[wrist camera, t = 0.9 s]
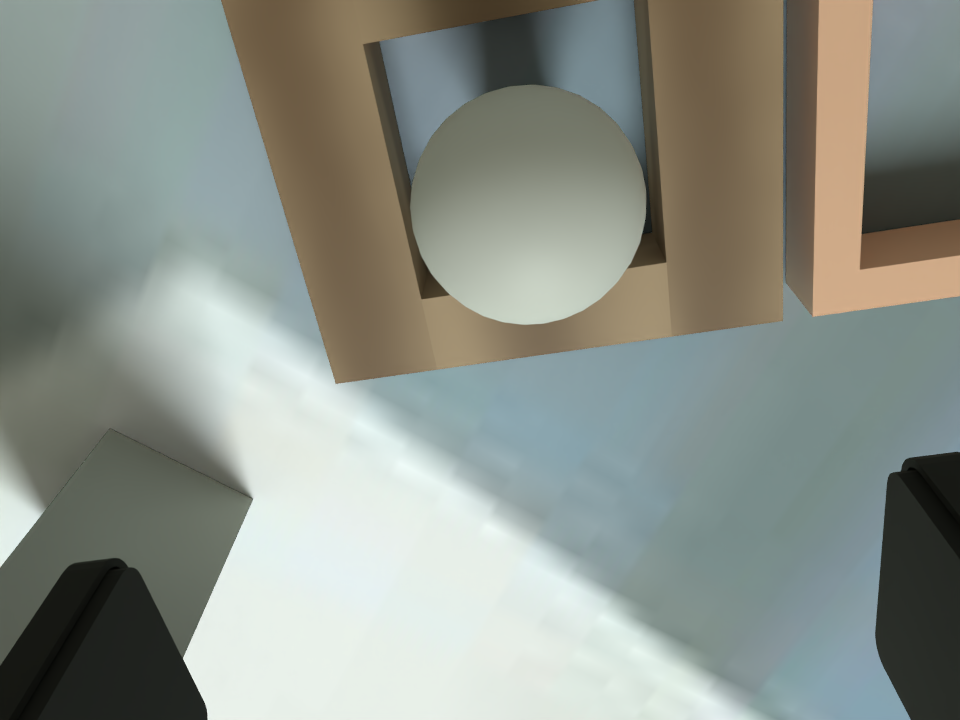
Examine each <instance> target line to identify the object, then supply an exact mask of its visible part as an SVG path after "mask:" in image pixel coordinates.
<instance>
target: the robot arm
mask: <svg viewBox="0 0 960 720" xmlns="http://www.w3.org/2000/svg"><path fill="white" fill-rule="evenodd" d="M875 638H876V645H877V649H878V654H879V657H880V659H881V662H882V664H883V667H884V669H885V671H886V672H887V674H888V676H889V678H890V680H891V682H892V684H893V686H894V688H895V690H896V692H897V694H898V696H899V698H900V699H901V701H902V703H903V705H904V707H905V709H906V711H907V713H908V715H909V717H910V719H911V720H960V453H959V452H952V453H944V454H936V455H928V456H920V457H912V458H908V459H906V460H905V461H904V463H903V464H902V469H901V472H893V473H891V474H890V475H889V477H888V481H887V491H886V504H885V516H884V529H883V542H882V554H881V567H880V580H879V593H878V605H877V618H876V631H875ZM0 720H207V709H206V706H205V703H204V701H203V699H202V697H201V695H200V693H199V691H198V689H197V687H196V685H195V683H194V681H193V679H192V677H191V675H190V673H189V671H188V669H187V666H186V664H185V662H184V660H183V658H182V656H181V654H180V652H179V650H178V648H177V646H176V644H175V642H174V640H173V638H172V636H171V634H170V632H169V630H168V628H167V626H166V624H165V622H164V620H163V618H162V616H161V614H160V612H159V610H158V608H157V606H156V604H155V602H154V600H153V598H152V596H151V594H150V592H149V590H148V588H147V586H146V584H145V582H144V580H143V578H142V576H141V574H140V573H139V571H138V570H137V569H135V568H132V567H128V566H127V564H126V563H125V562H124V561H123V560H121V559H120V558H109V559H101V560H93V561H85V562H77V563H73V564H71V565H69V566H68V567H67V568H66V569H65V570H64V572H63V573H62V574H61V576H60V577H59V579H58V580H57V582H56V583H55V585H54V586H53V588H52V589H51V591H50V592H49V594H48V595H47V597H46V598H45V600H44V601H43V603H42V604H41V606H40V607H39V609H38V610H37V612H36V613H35V615H34V616H33V618H32V619H31V621H30V622H29V624H28V625H27V627H26V628H25V629H24V631H23V632H22V634H21V635H20V637H19V638H18V640H17V641H16V643H15V644H14V646H13V647H12V649H11V650H10V652H9V653H8V655H7V656H6V658H5V659H4V661H3V662H2V664H1V665H0Z"/></svg>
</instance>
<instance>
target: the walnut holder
mask: <svg viewBox="0 0 960 720" xmlns="http://www.w3.org/2000/svg"><path fill="white" fill-rule="evenodd" d="M591 1H597V0H221V2H222V5H223V8H224V12H225V15H226V18H227V22H228V25H229V28H230V32H231V35H232V38H233V42H234V45H235V48H236V52H237V55H238V58H239V62H240V65H241V69H242V72H243V75H244V79H245V82H246V85H247V89H248V92H249V95H250V99H251V102H252V105H253V109H254V112H255V115H256V119H257V122H258V125H259V129H260V132H261V135H262V139H263V142H264V145H265V149H266V152H267V155H268V159H269V162H270V165H271V169H272V172H273V175H274V179H275V182H276V185H277V189H278V192H279V195H280V199H281V202H282V205H283V209H284V212H285V215H286V219H287V222H288V226H289V229H290V232H291V236H292V239H293V242H294V246H295V249H296V252H297V256H298V259H299V262H300V266H301V269H302V272H303V276H304V279H305V282H306V286H307V289H308V292H309V296H310V299H311V302H312V306H313V309H314V312H315V316H316V319H317V322H318V326H319V329H320V332H321V336H322V339H323V342H324V346H325V349H326V352H327V356H328V359H329V362H330V366H331V369H332V372H333V376H334V379H335V383H336V384H338V383H345V382H352V381H359V380H366V379H374V378H381V377H388V376H395V375H402V374H409V373H416V372H423V371H430V370H437V369H445V368H452V367H459V366H466V365H473V364H480V363H487V362H494V361H501V360H508V359H516V358H523V357H530V356H537V355H544V354H551V353H558V352H565V351H572V350H579V349H587V348H594V347H601V346H608V345H615V344H622V343H629V342H636V341H643V340H650V339H658V338H665V337H672V336H679V335H686V334H693V333H700V332H707V331H714V330H721V329H729V328H736V327H743V326H750V325H757V324H764V323H771V322H778V321H783V0H634V7H635V20H636V33H637V46H638V58H639V71H640V84H641V96H642V109H643V122H644V135H645V147H646V160H647V173H648V185H649V198H650V211H651V224H652V233H646V234H642V236H641V241H640V244H639V246H638V248H637V251H636V253H635V255H634V257H633V259H632V262H631V264H630V265H629V266H628V268H627V269H626V271H625V272H624V273H623V275H622V276H621V278H620V279H619V281H618V282H617V283H616V284H615V285H614V286H613V287H612V288H611V289H610V290H609V291H608V292H607V293H606V294H605V295H604V296H603V297H602V298H601V299H600V300H598V301H597V302H595V303H594V304H592V305H591V306H589V307H588V308H586V309H585V310H583V311H581V312H579V313H576V314H574V315H572V316H569V317H567V318H565V319H561V320H557V321H553V322H549V323H544V324H528V325H521V324H513V323H505V322H501V321H497V320H494V319H491V318H488V317H484V316H482V315H480V314H478V313H476V312H474V311H473V310H471V309H469V308H467V307H465V306H464V305H463V304H461V303H460V302H459V301H458V300H456V299H455V298H454V297H452V296H451V295H450V294H449V293H448V292H447V291H445V289H444V288H443V287H442V286H441V285H440V284H439V282H438V281H437V280H436V279H435V278H434V277H433V275H432V274H431V272H430V271H429V269H428V267H427V265H426V264H425V262H424V260H423V258H422V256H421V254H420V251H419V248H418V245H417V242H416V239H415V236H414V232H413V228H412V220H411V211H410V202H411V185H410V180H409V176H408V171H407V167H406V162H405V157H404V153H403V148H402V144H401V139H400V135H399V130H398V126H397V121H396V116H395V112H394V107H393V103H392V98H391V94H390V89H389V85H388V80H387V76H386V71H385V66H384V62H383V57H382V53H381V48H380V44H379V41H383V40H388V39H393V38H399V37H404V36H409V35H415V34H420V33H425V32H431V31H436V30H441V29H447V28H452V27H457V26H463V25H468V24H473V23H479V22H484V21H490V20H495V19H500V18H506V17H511V16H516V15H522V14H527V13H532V12H538V11H543V10H548V9H554V8H559V7H564V6H570V5H575V4H580V3H586V2H591Z"/></svg>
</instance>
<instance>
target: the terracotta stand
mask: <svg viewBox="0 0 960 720" xmlns="http://www.w3.org/2000/svg"><path fill="white" fill-rule="evenodd" d="M872 9H873V0H787V111H786V283H787V285H788V286H789V287H790V288H791V290H792V291H793V292H794V294H795V295H796V296H797V297H798V299H799V300H800V301H801V302H802V304H803V305H804V306H805V308H806V309H807V310H808V311H809V313H810V314H811V315H812V317H814V316H821V315H828V314H835V313H842V312H849V311H856V310H863V309H871V308H878V307H885V306H892V305H899V304H906V303H913V302H920V301H927V300H935V299H942V298H949V297H956V296H960V219H959V220H952V221H945V222H939V223H932V224H925V225H919V226H912V227H905V228H899V229H892V230H886V231H879V232H872V233H866V234H861V233H862V213H863V192H864V172H865V152H866V131H867V111H868V90H869V70H870V50H871V29H872Z"/></svg>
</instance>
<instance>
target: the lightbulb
mask: <svg viewBox="0 0 960 720" xmlns="http://www.w3.org/2000/svg"><path fill="white" fill-rule="evenodd" d="M410 211H411V220H412V228H413V232H414V236H415V239H416V242H417V245H418V248H419V251H420V254H421V256H422V258H423V260H424V262H425V264H426V265H427V267H428V269H429V271H430V272H431V274H432V275H433V277H434V278H435V279H436V280H437V281H438V282H439V284H440V285H441V286H442V287H443V288H444V289H445V291H447V292H448V293H449V294H450V295H451V296H452V297H454V298H455V299H456V300H458V301H459V302H460V303H461V304H463V305H464V306H465V307H467V308H469V309H471V310H473V311H474V312H476V313H478V314H480V315H482V316H484V317H488V318H491V319H494V320H497V321H501V322H505V323H513V324H521V325H528V324H544V323H549V322H553V321H557V320H561V319H565V318H567V317H569V316H572V315H574V314H576V313H579V312H581V311H583V310H585V309H586V308H588V307H589V306H591V305H592V304H594V303H595V302H597V301H598V300H600V299H601V298H602V297H603V296H604V295H605V294H606V293H607V292H608V291H609V290H610V289H611V288H612V287H613V286H614V285H615V284H616V283H617V282H618V281H619V279H620V278H621V276H622V275H623V273H624V272H625V271H626V269H627V268H628V266H629V265H630V264H631V262H632V259H633V257H634V255H635V253H636V251H637V248H638V246H639V244H640V241H641V236H642V232H643V227H644V223H645V217H646V187H645V182H644V177H643V171H642V168H641V165H640V163H639V161H638V158H637V156H636V153H635V151H634V149H633V147H632V145H631V143H630V142H629V140H628V139H627V137H626V136H625V135H624V133H623V132H622V130H621V129H620V127H619V126H618V124H617V123H616V122H615V121H614V120H613V119H611V118H610V117H609V116H608V115H607V114H606V113H605V112H604V111H603V110H602V109H601V108H600V107H598V106H596V105H595V104H593V103H591V102H590V101H588V100H586V99H585V98H583V97H581V96H580V95H577V94H574V93H571V92H568V91H566V90H563V89H560V88H556V87H549V86H541V85H520V86H508V87H505V88H501V89H498V90H494V91H491V92H487V93H485V94H483V95H481V96H479V97H477V98H475V99H473V100H471V101H469V102H467V103H465V104H464V105H463V106H461V107H460V108H459V109H458V110H456V111H455V112H454V113H453V114H452V115H450V116H449V117H448V118H447V119H446V120H445V121H444V122H443V123H442V124H441V126H440V127H439V128H438V129H437V131H436V132H435V133H434V134H433V135H432V137H431V138H430V140H429V142H428V144H427V146H426V148H425V150H424V151H423V153H422V155H421V157H420V160H419V162H418V166H417V169H416V172H415V176H414V179H413V183H412V189H411V202H410Z"/></svg>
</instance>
